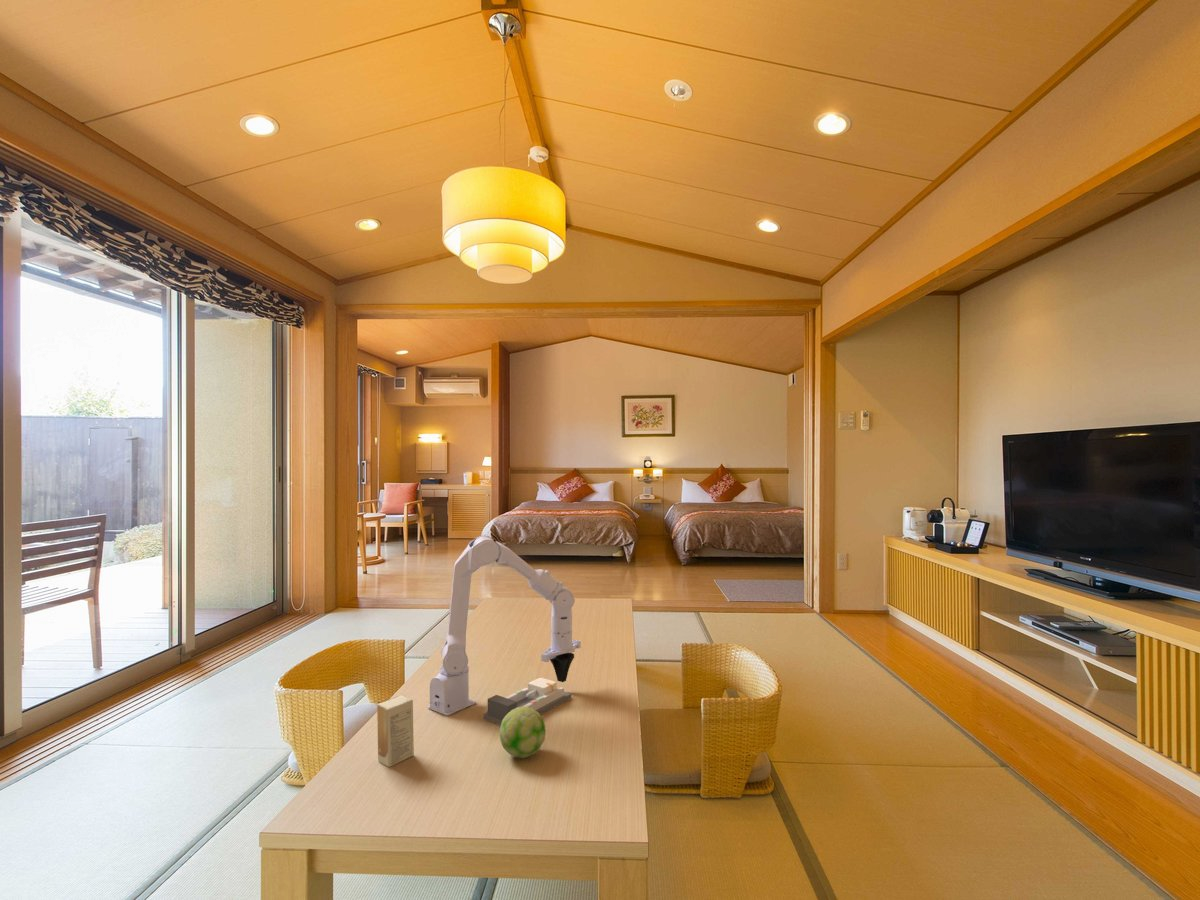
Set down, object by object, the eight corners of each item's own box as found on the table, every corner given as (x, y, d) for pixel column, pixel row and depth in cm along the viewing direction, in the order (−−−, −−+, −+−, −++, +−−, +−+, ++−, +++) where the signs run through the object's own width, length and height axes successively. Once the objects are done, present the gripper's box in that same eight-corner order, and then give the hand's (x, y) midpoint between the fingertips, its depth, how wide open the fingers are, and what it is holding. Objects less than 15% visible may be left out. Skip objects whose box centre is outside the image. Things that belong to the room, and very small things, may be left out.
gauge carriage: (540, 707, 146) (540, 691, 146) (520, 700, 150) (520, 685, 150) (560, 697, 152) (560, 682, 152) (540, 690, 156) (540, 676, 156)
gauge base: (512, 729, 136) (512, 707, 137) (483, 718, 142) (483, 697, 142) (571, 698, 154) (571, 678, 154) (543, 689, 160) (543, 670, 160)
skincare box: (403, 749, 127) (403, 693, 128) (414, 756, 125) (414, 698, 125) (376, 761, 122) (376, 703, 123) (387, 768, 120) (387, 708, 120)
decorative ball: (502, 770, 119) (502, 721, 119) (497, 747, 128) (497, 701, 129) (549, 763, 121) (549, 715, 122) (541, 741, 131) (541, 696, 131)
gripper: (555, 640, 151) (555, 692, 151) (589, 627, 162) (589, 675, 162) (535, 635, 155) (535, 686, 155) (569, 622, 167) (569, 670, 166)
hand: (561, 680), depth 159 cm, fingers closed
